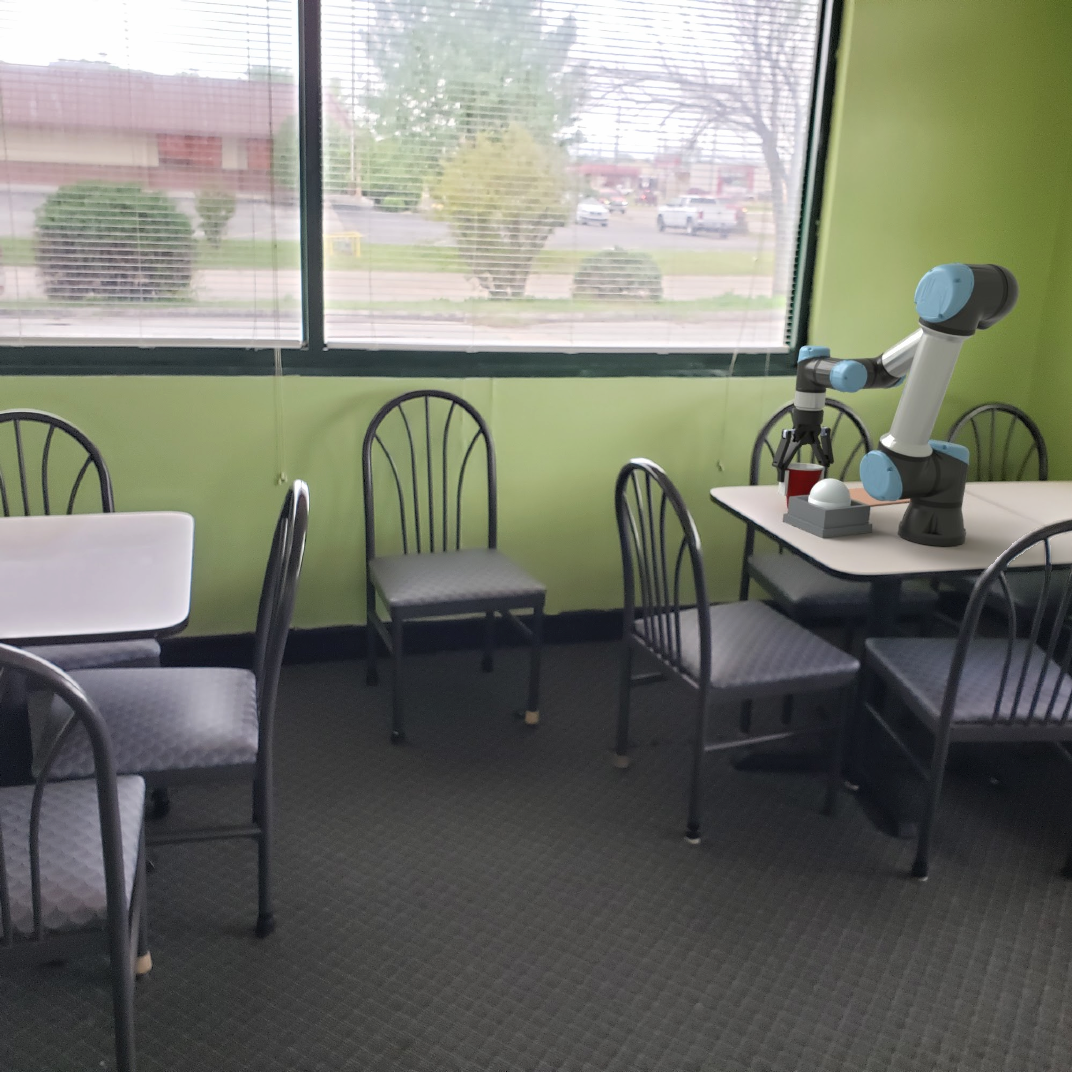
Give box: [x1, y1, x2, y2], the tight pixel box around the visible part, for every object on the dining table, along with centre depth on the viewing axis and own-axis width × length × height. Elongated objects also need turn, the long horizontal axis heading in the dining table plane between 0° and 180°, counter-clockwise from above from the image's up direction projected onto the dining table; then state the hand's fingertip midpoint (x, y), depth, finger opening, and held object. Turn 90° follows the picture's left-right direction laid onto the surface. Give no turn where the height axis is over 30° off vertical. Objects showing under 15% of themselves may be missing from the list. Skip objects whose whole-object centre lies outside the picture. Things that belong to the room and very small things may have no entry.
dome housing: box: [782, 495, 873, 539], centre depth 250 cm, size 15×15×6 cm
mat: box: [848, 487, 910, 507], centre depth 281 cm, size 16×16×1 cm
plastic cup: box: [785, 462, 824, 509], centre depth 265 cm, size 11×11×12 cm
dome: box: [808, 478, 851, 509], centre depth 249 cm, size 10×10×10 cm
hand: (800, 492), depth 265 cm, fingers closed on plastic cup, 11 cm apart
